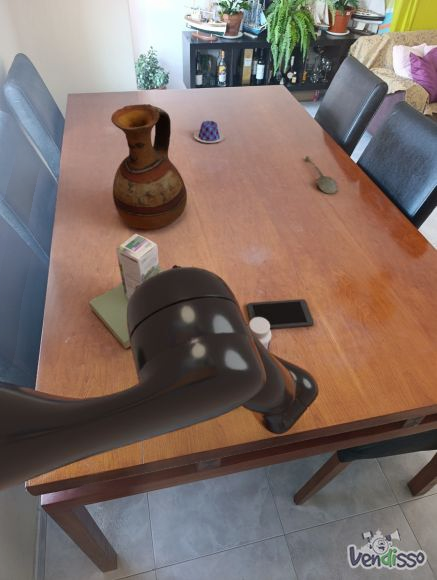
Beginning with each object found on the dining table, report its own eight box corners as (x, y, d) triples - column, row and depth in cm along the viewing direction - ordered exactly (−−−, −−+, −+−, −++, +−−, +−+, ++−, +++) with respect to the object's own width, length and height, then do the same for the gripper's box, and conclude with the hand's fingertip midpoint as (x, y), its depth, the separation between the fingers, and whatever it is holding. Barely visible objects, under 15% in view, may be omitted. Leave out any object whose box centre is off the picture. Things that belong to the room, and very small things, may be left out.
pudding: (220, 146, 137) (221, 132, 133) (189, 141, 139) (189, 127, 135) (227, 132, 145) (228, 119, 141) (198, 128, 147) (198, 114, 143)
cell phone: (314, 325, 82) (315, 323, 81) (252, 330, 80) (252, 328, 80) (304, 300, 87) (305, 298, 86) (246, 305, 85) (246, 302, 85)
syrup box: (141, 282, 85) (133, 231, 74) (162, 293, 83) (157, 242, 72) (124, 298, 81) (114, 247, 71) (146, 309, 79) (138, 259, 69)
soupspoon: (319, 196, 119) (338, 195, 120) (323, 187, 116) (342, 186, 117) (298, 159, 133) (315, 159, 134) (301, 150, 130) (318, 150, 131)
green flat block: (126, 351, 76) (124, 342, 73) (91, 310, 82) (88, 301, 80) (194, 307, 84) (194, 298, 82) (158, 273, 91) (157, 265, 89)
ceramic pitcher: (102, 223, 104) (77, 112, 82) (142, 188, 116) (130, 84, 94) (164, 244, 99) (154, 132, 77) (198, 205, 111) (199, 100, 89)
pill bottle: (255, 336, 79) (260, 309, 73) (272, 352, 77) (279, 326, 70) (236, 349, 77) (240, 323, 71) (254, 366, 74) (259, 341, 68)
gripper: (243, 295, 65) (184, 248, 72) (177, 339, 58) (120, 282, 66) (239, 322, 70) (185, 275, 78) (179, 365, 63) (126, 309, 71)
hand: (156, 278), depth 72 cm, fingers open, 8 cm apart
